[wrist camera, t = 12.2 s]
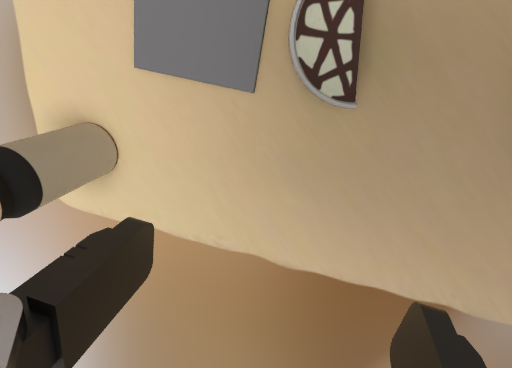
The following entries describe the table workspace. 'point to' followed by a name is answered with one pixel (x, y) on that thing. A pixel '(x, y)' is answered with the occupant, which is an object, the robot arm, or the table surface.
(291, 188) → the table surface
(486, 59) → the table surface
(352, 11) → the food container
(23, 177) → the travel mug
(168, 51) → the mat
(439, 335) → the robot arm
